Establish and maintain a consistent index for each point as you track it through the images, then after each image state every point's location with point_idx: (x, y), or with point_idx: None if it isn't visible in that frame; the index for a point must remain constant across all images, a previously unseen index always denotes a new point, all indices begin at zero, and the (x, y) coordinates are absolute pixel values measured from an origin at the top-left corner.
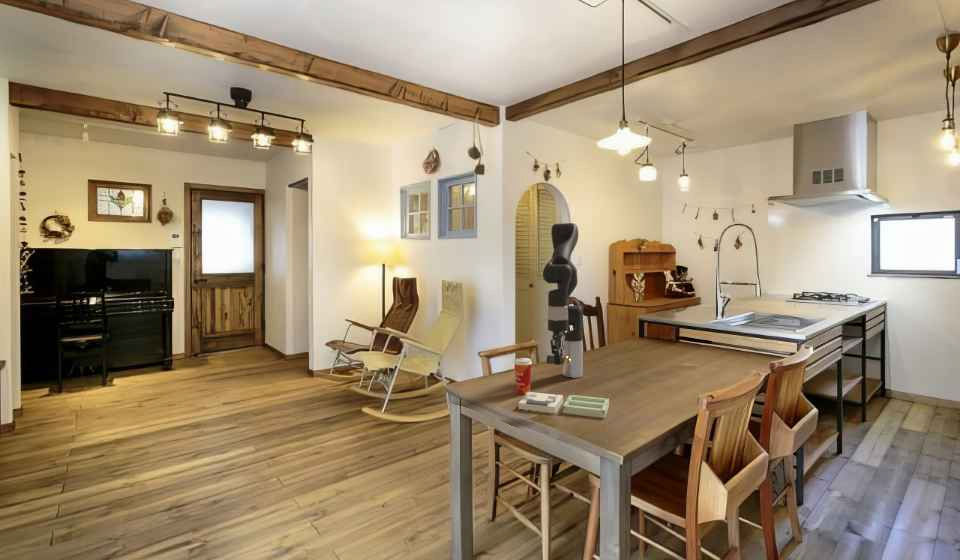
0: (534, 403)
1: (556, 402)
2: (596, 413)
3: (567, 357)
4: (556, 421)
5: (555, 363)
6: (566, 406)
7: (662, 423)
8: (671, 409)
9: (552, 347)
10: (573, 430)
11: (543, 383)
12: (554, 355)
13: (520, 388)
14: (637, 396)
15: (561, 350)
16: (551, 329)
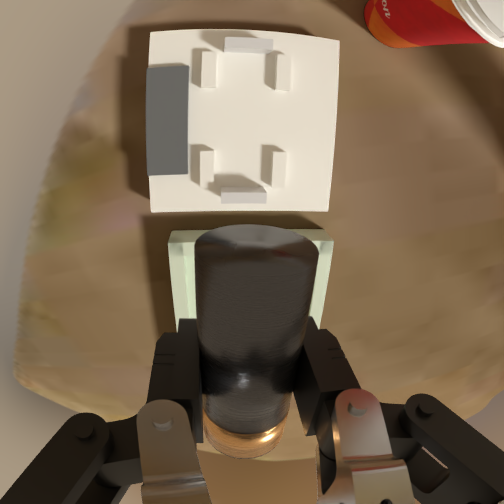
0: (146, 110)
1: (214, 203)
2: None
3: (230, 453)
4: (83, 227)
5: (164, 340)
6: (169, 258)
7: (207, 442)
8: (303, 443)
9: (17, 501)
10: (47, 292)
11: (495, 105)
12: (146, 405)
13: (375, 3)
14: (390, 386)
15: (318, 457)
16: None
